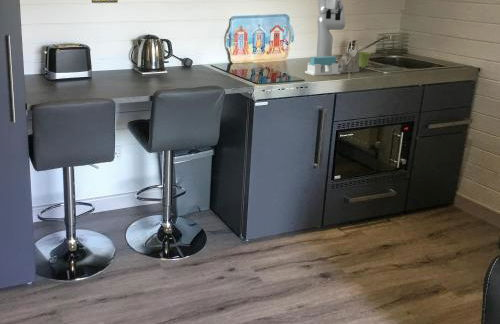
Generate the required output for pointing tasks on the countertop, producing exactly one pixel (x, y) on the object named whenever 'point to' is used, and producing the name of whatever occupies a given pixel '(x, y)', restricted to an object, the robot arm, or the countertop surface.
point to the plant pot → (363, 59)
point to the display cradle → (322, 69)
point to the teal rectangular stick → (323, 60)
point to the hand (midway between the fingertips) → (332, 19)
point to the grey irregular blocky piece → (349, 61)
